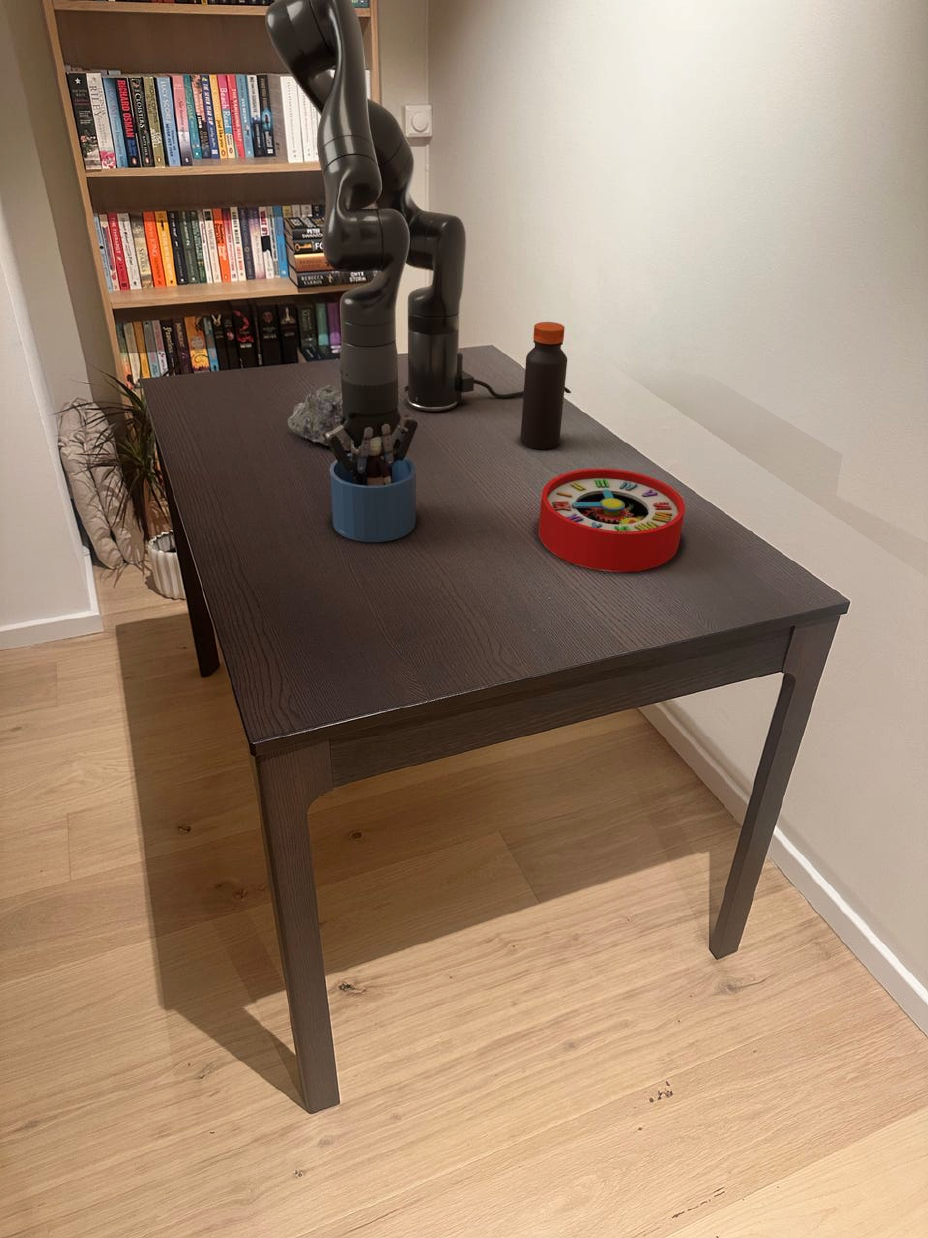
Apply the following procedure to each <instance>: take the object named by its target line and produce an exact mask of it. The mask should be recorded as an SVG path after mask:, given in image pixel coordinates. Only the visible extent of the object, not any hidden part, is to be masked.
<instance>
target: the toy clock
mask: <svg viewBox="0 0 928 1238" xmlns="http://www.w3.org/2000/svg"><path fill="white" fill-rule="evenodd" d="M539 510H540V511H539V521H538V536H539V539H540V541H541V543H542V545H544V547H545V548H546V549H547V550H548V551H550V552H551V553H552V554H554V555H555V556H557V557H558V558H560V559H562V560H564V561H566V562H568V563H571V564H573V565H577V566H580V567H582V568H587V569H592V570H596V571H603V572H613V573H614V572H616V573H627V572H639V571H645V570H650V569H652V568H656V567H658V566H661V565H664V564H665V563H667V562H668V561H669V560H671V559H672V558H673V557H674V556H675V554H676V553H677V551H678V548H679V546H680V545H679V544H680V540H681V534H682V528H683V523H684V518H685V512H686V504H685V502H684V499H683V497H682V496H681V495H680V494H679V492H678V491H676V489H674V487H671V486H670V485H668V484H667V483H665V482H663V481H661V480H659V479H656V478H654V477H652V476H649V475H646V474H642V473H639V472H634V471H630V470H624V469H615V468H584V469H578V470H573V471H567V472H565V473H562V474H560V475H559V474H558V475H557V476H556V477H554V478H552V479H551V480H549V481H548V482H547V483H546V484H545V486H544V487H543V489H542V492H541V501H540V509H539Z"/></svg>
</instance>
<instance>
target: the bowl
mask: <svg viewBox="0 0 928 1238" xmlns="http://www.w3.org/2000/svg"><path fill="white" fill-rule="evenodd" d="M347 455H348V457H349V459H351V452H350V453H347ZM328 469H329V470H328V472H329V473H328V474H329V488H330V505H331V506H330V507H331V520H332V527H333V528H334V530H335V531H336V532H337V533H338V534H339V535H341V536H342V537H345V538H346V539H349V540H352V541H356V542H363V543H383V542H389V541H395V540H398V539H400V538H403V537H405V536H407V535H408V534H409V533H411V532H412V531H413V530H414V528H415V526H416V523H417V467H416V465H415V462H413V461H412V460H411V459H410V458H408V457H406V456H405V458H404V460H402V461H399V460H398V461H396V462H395V463H394V465H393V466H392V484H387V485H379V486H364V485H357V484H353V482H352V471H350V472H348V471H346V470H345V469H344V468H343V467H342V466H341V465H340V464H339V463H338V461H337V459H335V460H334V461H332V463H331V464H330V467H329V468H328Z"/></svg>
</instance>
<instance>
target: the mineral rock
mask: <svg viewBox="0 0 928 1238" xmlns="http://www.w3.org/2000/svg"><path fill="white" fill-rule="evenodd" d="M342 417H343V406H342V390H341V389H340V388H339V387H338V386H335V385H331V384H328V385H325V386H323V387H320V388H318V389H317V390H316V391H312V392H310V393H308V394H307V395H306V397H305V400H304V402H300V403H297V404H295V406H294V408H293V413H292V414H291V415H290V416H289V417H288V418H287V426H288V428H289V429H290V431H292V433H295V434H296V435H298V436H299V437H301V438H303V439H307V440H309V441H312V442H313V443H320V444H322V445H324V446H327V447H329V445H328V443H327V442H326V440H325V438H324V436H323V433H324V431H325V430H330V431H332V430H334V429H335V428H337V427H338V426H340V422H341V419H342ZM342 446H343V448H344V450H345V451H346V452H350V451H351V448H350V446H351V438H350V437H349V436H348V435H347V434H346V433H345V434H344V444H343V445H342Z"/></svg>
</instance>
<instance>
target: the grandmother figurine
mask: <svg viewBox="0 0 928 1238" xmlns="http://www.w3.org/2000/svg"><path fill="white" fill-rule="evenodd" d="M381 443H382V440H381V437H376V438H373V439H371V443H370V451H369V457H368V458H367V461H366V469H365V472H366V473H367V486H379V485H384V483H385V485H387V484H391V478H390V473H389V470H388V468H387V466H386V463H385V461H384V460H383V459H382V458H381V457H379V456H378V454H379V453H380V452H381V450H382V446H381V445H382V444H381ZM359 448H360V447H359ZM383 480H384V483H383Z"/></svg>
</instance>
